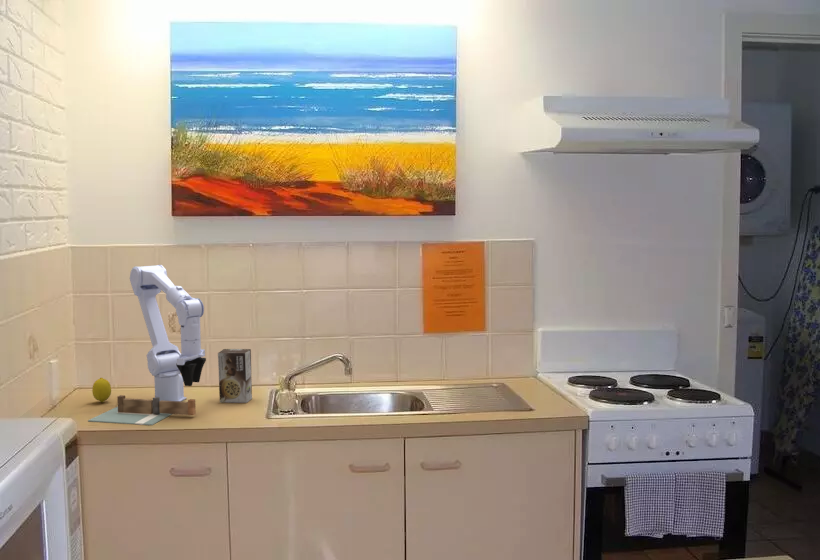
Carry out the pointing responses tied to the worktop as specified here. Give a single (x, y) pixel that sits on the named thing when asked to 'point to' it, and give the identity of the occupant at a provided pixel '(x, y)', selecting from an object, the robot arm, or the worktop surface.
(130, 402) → the fixed fence section
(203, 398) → the worktop surface
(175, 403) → the hinged fence panel
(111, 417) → the card
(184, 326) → the robot arm
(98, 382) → the lemon
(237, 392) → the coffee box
